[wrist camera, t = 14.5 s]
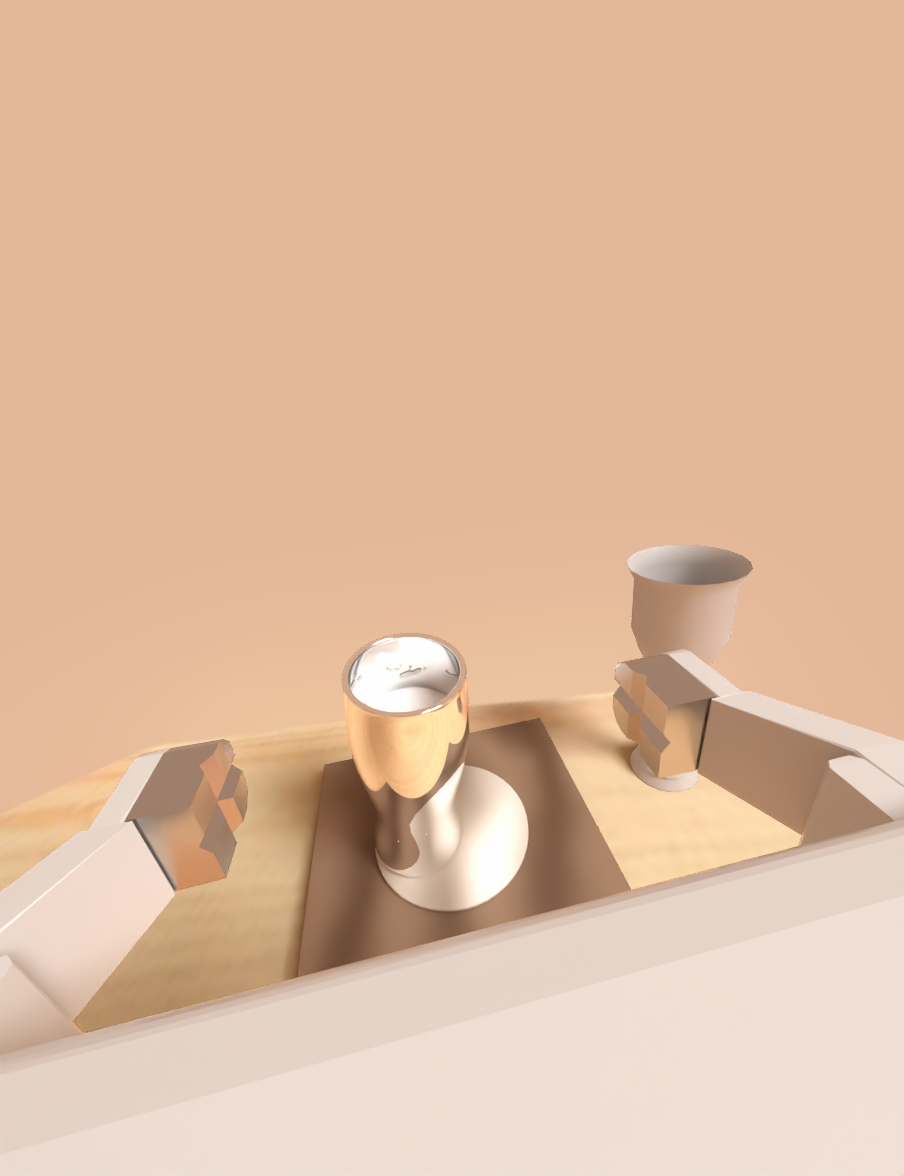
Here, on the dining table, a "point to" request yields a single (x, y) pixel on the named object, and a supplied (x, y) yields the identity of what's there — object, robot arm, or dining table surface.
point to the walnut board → (456, 855)
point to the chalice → (683, 615)
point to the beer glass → (409, 745)
